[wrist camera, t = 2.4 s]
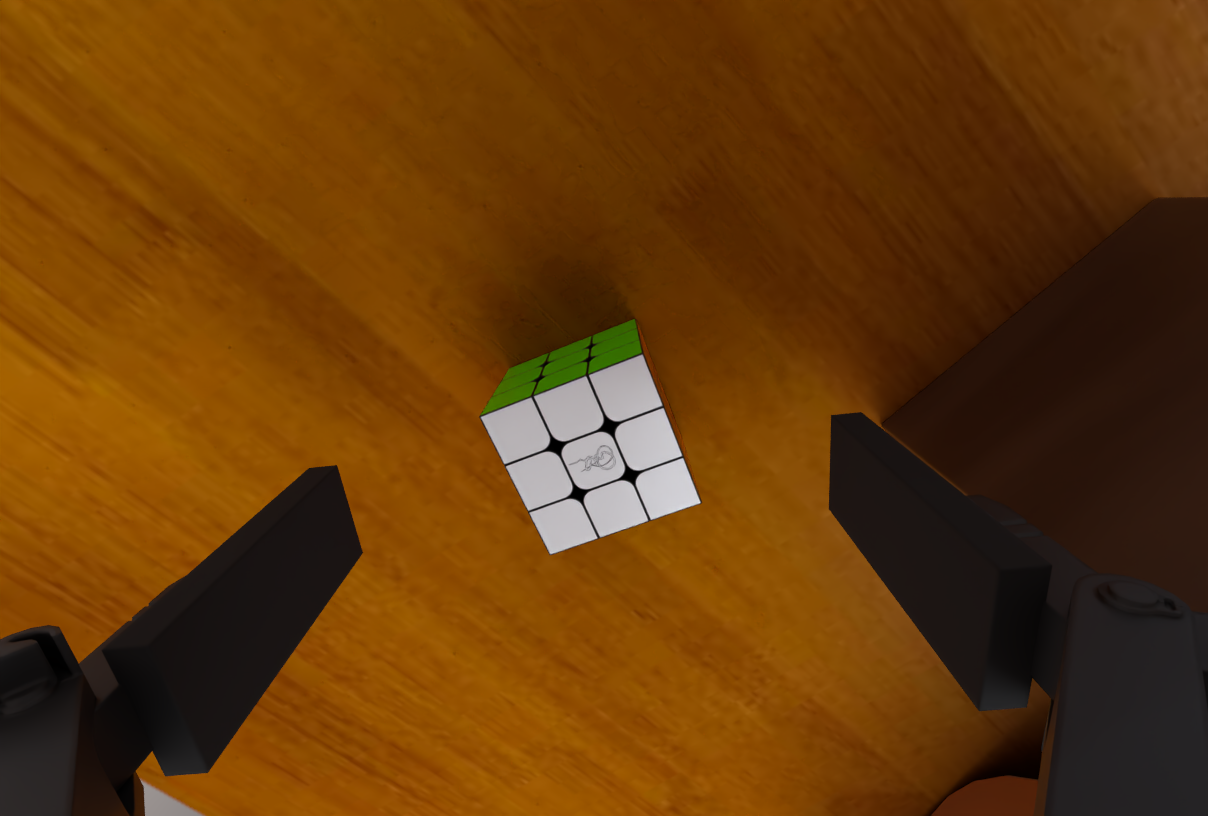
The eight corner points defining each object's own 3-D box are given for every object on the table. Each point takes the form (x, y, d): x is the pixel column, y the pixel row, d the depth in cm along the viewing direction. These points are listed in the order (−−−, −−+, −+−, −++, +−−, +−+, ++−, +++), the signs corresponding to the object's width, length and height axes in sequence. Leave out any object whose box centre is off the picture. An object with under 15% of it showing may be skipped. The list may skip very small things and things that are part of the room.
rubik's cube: (507, 366, 20) (477, 414, 16) (637, 317, 20) (645, 351, 15) (560, 482, 22) (547, 556, 17) (682, 440, 21) (703, 505, 17)
